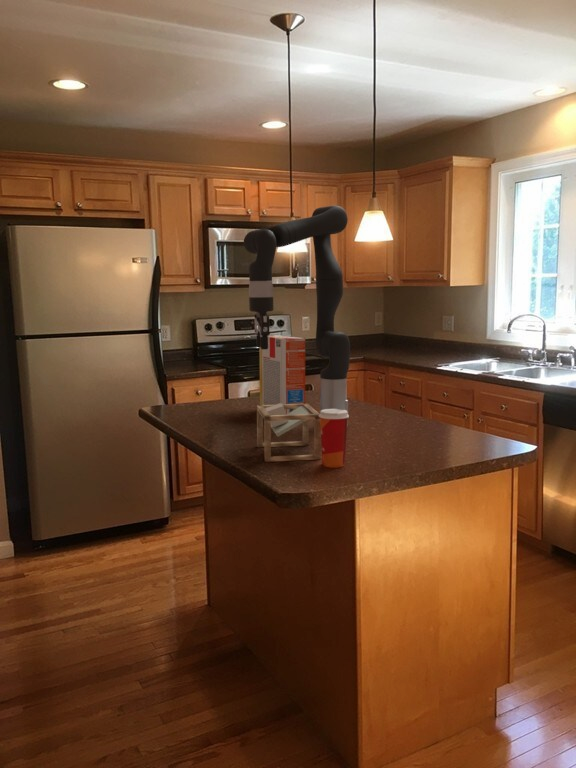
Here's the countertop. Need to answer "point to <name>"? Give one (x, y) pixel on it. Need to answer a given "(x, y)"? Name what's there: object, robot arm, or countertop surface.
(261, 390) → the cereal box
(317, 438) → the frame
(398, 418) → the countertop surface
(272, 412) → the white cube
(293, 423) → the trapdoor
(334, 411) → the coffee cup
